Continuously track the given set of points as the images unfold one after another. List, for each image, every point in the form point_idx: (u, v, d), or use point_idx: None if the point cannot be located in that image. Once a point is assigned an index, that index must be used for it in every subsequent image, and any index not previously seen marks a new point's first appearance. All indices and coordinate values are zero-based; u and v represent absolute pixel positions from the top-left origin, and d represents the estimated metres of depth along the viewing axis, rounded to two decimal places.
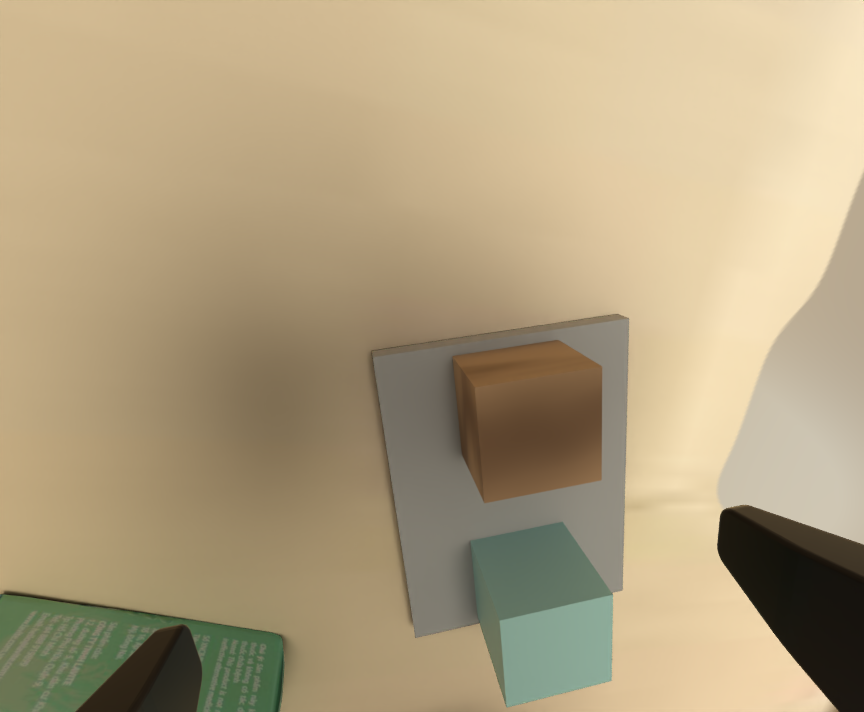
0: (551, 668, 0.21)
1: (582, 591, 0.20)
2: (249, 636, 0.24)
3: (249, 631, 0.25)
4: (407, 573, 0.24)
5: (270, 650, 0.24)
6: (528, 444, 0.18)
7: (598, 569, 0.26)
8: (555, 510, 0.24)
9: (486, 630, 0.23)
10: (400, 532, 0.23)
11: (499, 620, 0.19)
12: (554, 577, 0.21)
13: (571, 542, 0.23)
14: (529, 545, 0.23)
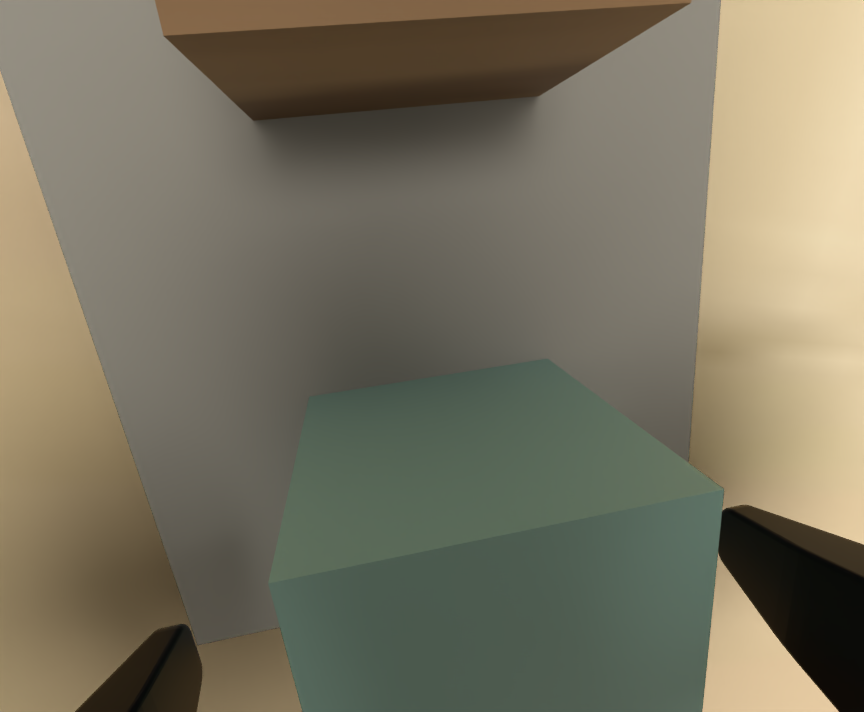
0: None
1: (608, 484, 0.06)
2: None
3: None
4: (145, 480, 0.09)
5: None
6: None
7: None
8: (529, 325, 0.10)
9: None
10: (102, 359, 0.09)
11: (272, 583, 0.05)
12: (513, 453, 0.06)
13: (569, 386, 0.08)
14: (454, 397, 0.09)
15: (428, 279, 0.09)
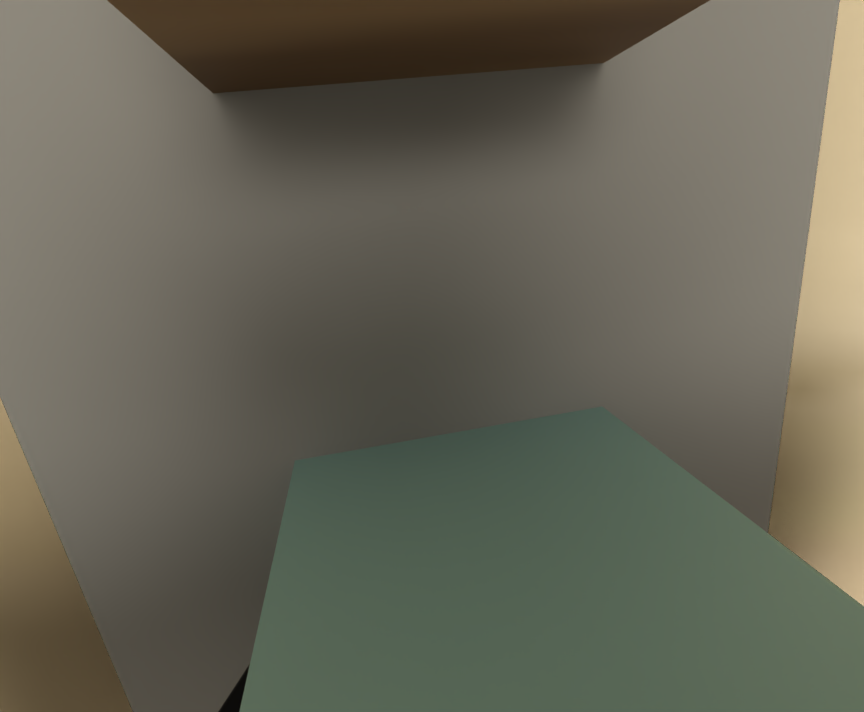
0: None
1: (777, 677, 0.03)
2: None
3: None
4: (79, 571, 0.07)
5: None
6: None
7: None
8: (580, 365, 0.07)
9: None
10: (13, 419, 0.06)
11: None
12: (597, 589, 0.04)
13: (644, 455, 0.06)
14: (489, 469, 0.06)
15: (452, 308, 0.07)
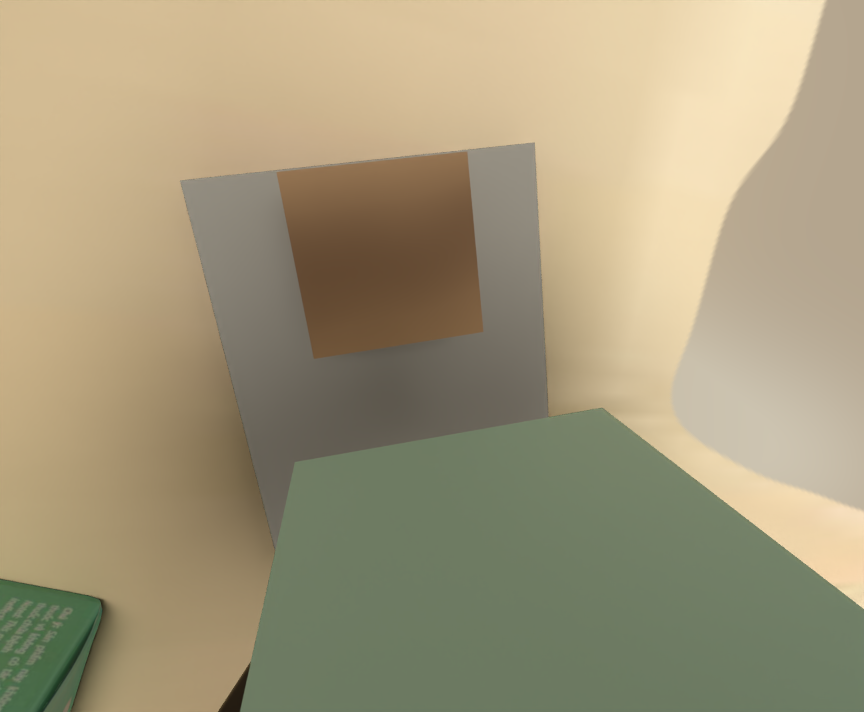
0: None
1: (776, 682, 0.03)
2: (52, 598, 0.19)
3: (55, 591, 0.19)
4: (263, 494, 0.18)
5: (76, 615, 0.18)
6: (369, 269, 0.13)
7: None
8: (456, 412, 0.19)
9: None
10: (247, 437, 0.18)
11: None
12: (597, 592, 0.04)
13: (644, 457, 0.06)
14: (489, 471, 0.06)
15: (403, 393, 0.18)
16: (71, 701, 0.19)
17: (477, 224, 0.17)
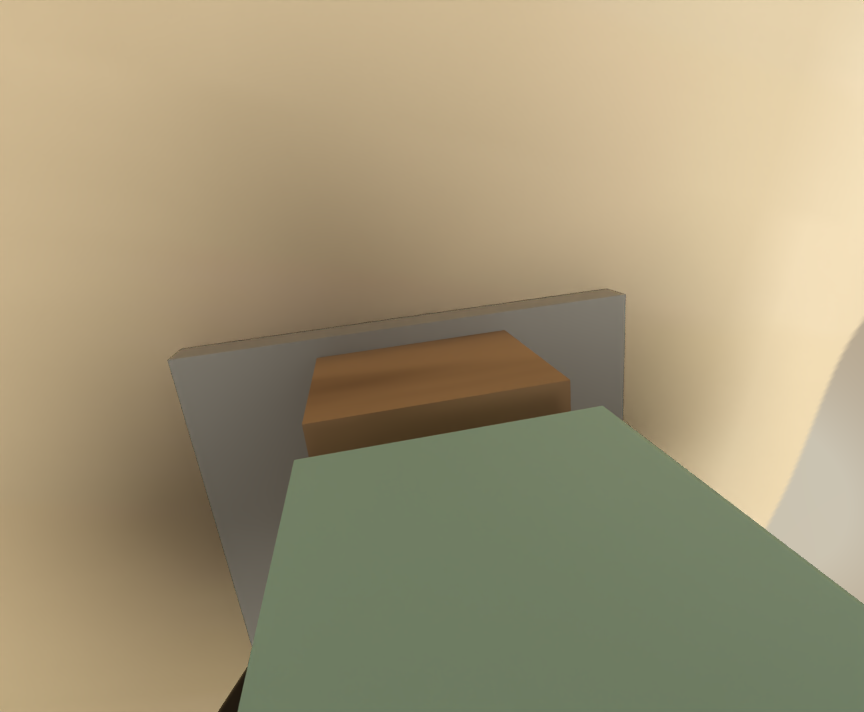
0: None
1: (778, 678, 0.03)
2: None
3: None
4: None
5: None
6: None
7: None
8: None
9: None
10: None
11: None
12: (597, 590, 0.04)
13: (645, 454, 0.06)
14: (489, 468, 0.06)
15: None
16: None
17: None
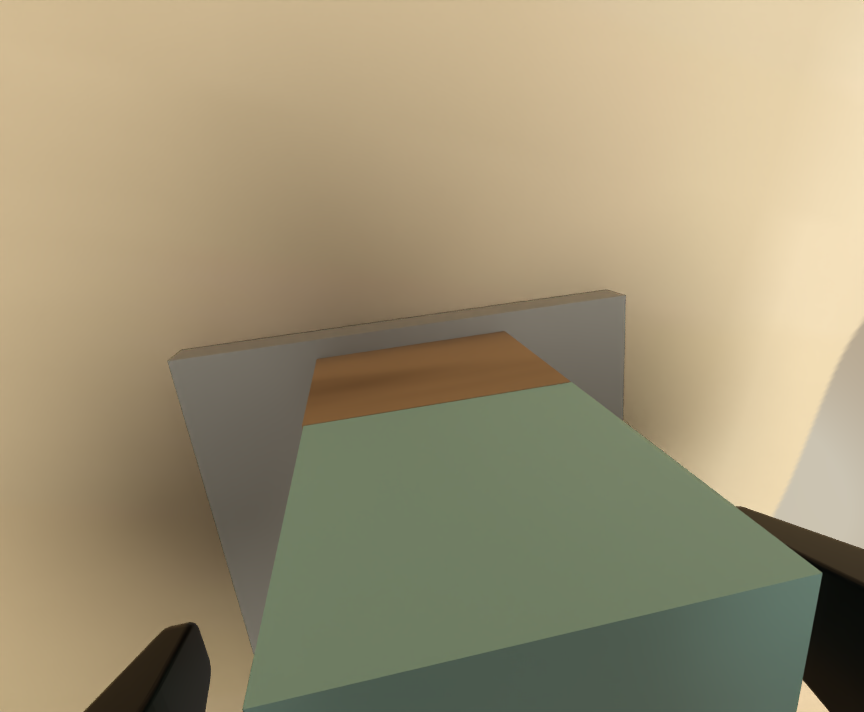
0: None
1: (672, 561, 0.04)
2: None
3: None
4: None
5: None
6: None
7: None
8: None
9: None
10: (253, 646, 0.14)
11: (249, 706, 0.04)
12: (547, 511, 0.05)
13: (601, 418, 0.07)
14: (469, 430, 0.07)
15: None
16: None
17: None
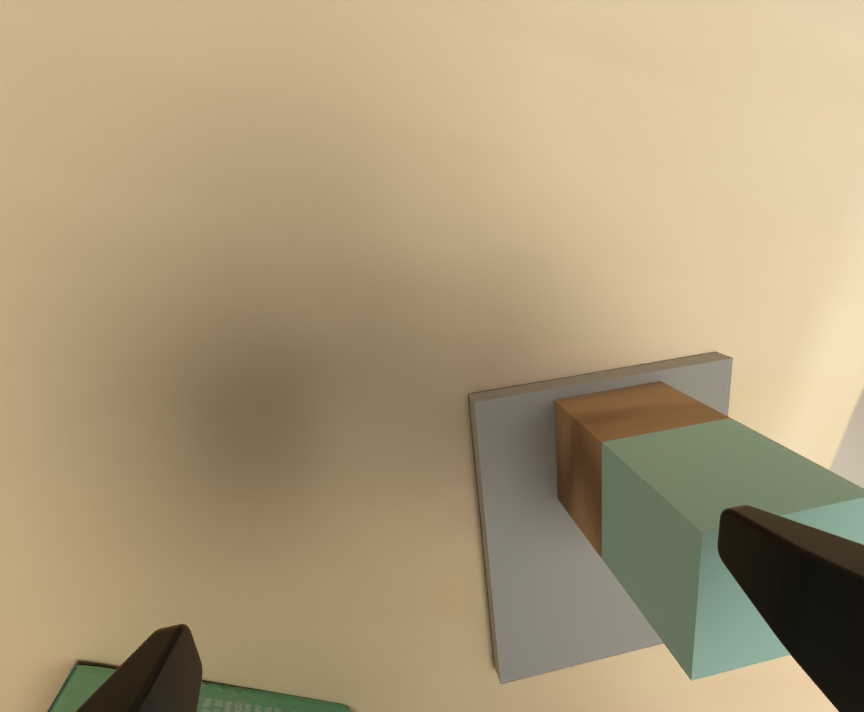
0: None
1: (821, 492, 0.13)
2: (318, 708, 0.24)
3: (316, 701, 0.24)
4: (496, 619, 0.23)
5: None
6: None
7: None
8: None
9: (632, 570, 0.16)
10: (491, 578, 0.22)
11: (700, 533, 0.12)
12: (761, 477, 0.14)
13: (759, 438, 0.16)
14: (696, 444, 0.16)
15: None
16: None
17: None
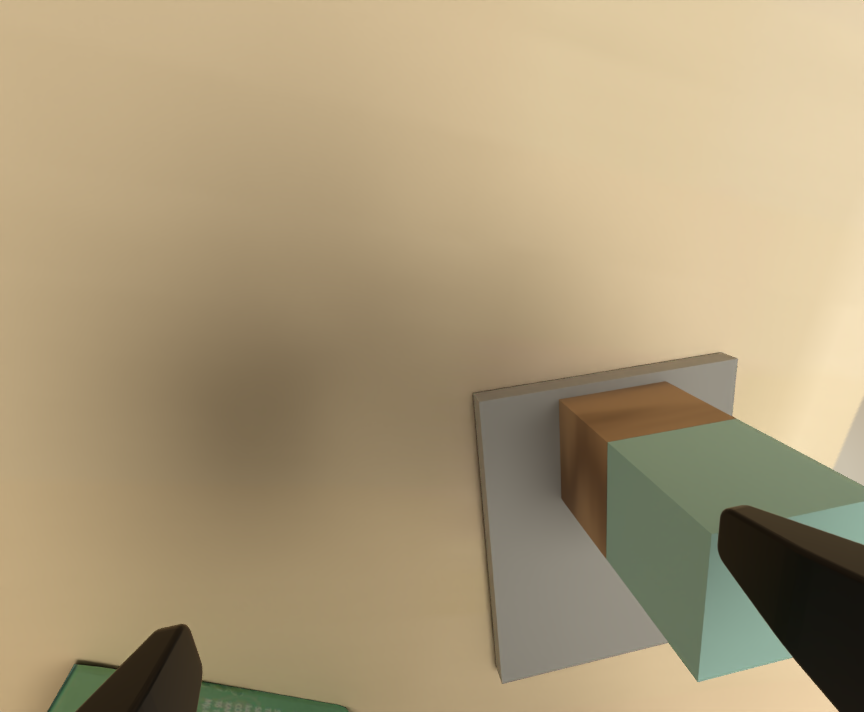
0: None
1: (829, 494, 0.13)
2: (317, 709, 0.24)
3: (316, 702, 0.24)
4: (498, 619, 0.23)
5: None
6: None
7: None
8: None
9: (638, 571, 0.16)
10: (494, 578, 0.22)
11: (709, 534, 0.12)
12: (769, 479, 0.14)
13: (766, 439, 0.16)
14: (702, 445, 0.16)
15: None
16: None
17: None
